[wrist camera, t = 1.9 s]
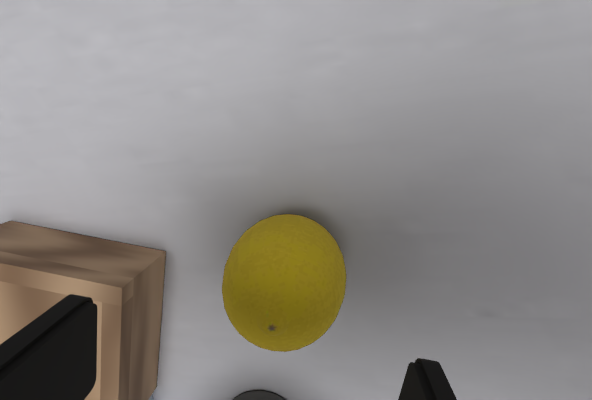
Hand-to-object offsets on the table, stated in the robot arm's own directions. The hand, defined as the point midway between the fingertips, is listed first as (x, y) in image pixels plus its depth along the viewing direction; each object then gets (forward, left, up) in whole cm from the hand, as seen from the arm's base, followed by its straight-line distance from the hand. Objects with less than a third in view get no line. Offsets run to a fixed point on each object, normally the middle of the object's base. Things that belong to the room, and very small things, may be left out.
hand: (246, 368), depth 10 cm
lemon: (0, 0, -10) cm, 10 cm away
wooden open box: (+12, +7, -10) cm, 17 cm away
